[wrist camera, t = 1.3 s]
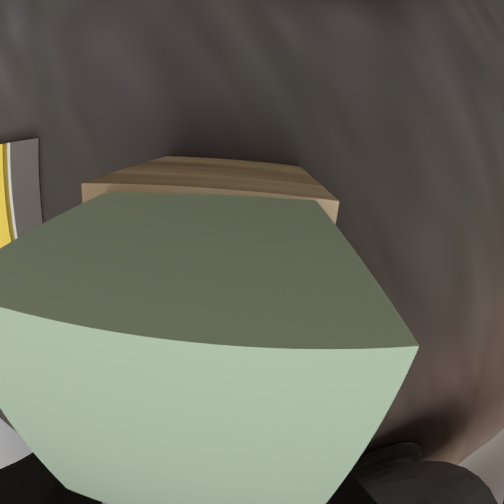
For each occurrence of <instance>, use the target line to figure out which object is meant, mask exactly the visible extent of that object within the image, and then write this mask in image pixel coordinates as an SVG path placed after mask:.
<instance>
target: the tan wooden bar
mask: <svg viewBox="0 0 504 504" xmlns="http://www.w3.org/2000/svg"><path fill="white" fill-rule="evenodd" d="M81 184H82V203H84V202H86V201H88V200H90V199H92V198H95V197H97V196H99V195H101V194H103V193H105V192H151V193H196V194H222V195H243V196H260V197H276V198H290V199H303V200H315V201H317V202H318V203H319V204H320V206H321V207H322V208H323V209H324V211H325V212H326V213H327V215H328V216H329V217H330V218H331V220H332V221H333V222H334V224H336V218H337V212H338V206H339V201H338V200H337V199H336V198H335V197H334V196H333V195H332V194H331V193H330V192H329V191H327V190H326V189H325V188H324V187H323V186H322V185H321V184H319V183H318V182H317V181H316V180H315V179H314V178H313V177H311V176H310V175H309V174H308V173H307V172H306V171H304V170H303V169H302V168H301V167H300V166H295V165H286V164H277V163H267V162H256V161H245V160H232V159H217V158H200V157H176V156H165V157H162V158H158V159H155V160H151V161H148V162H144V163H141V164H138V165H134V166H131V167H128V168H125V169H122V170H118V171H115V172H112V173H109V174H106V175H103V176H101V177H98V178H95V179H92V180H89V181H86V182H84V183H81Z"/></svg>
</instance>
